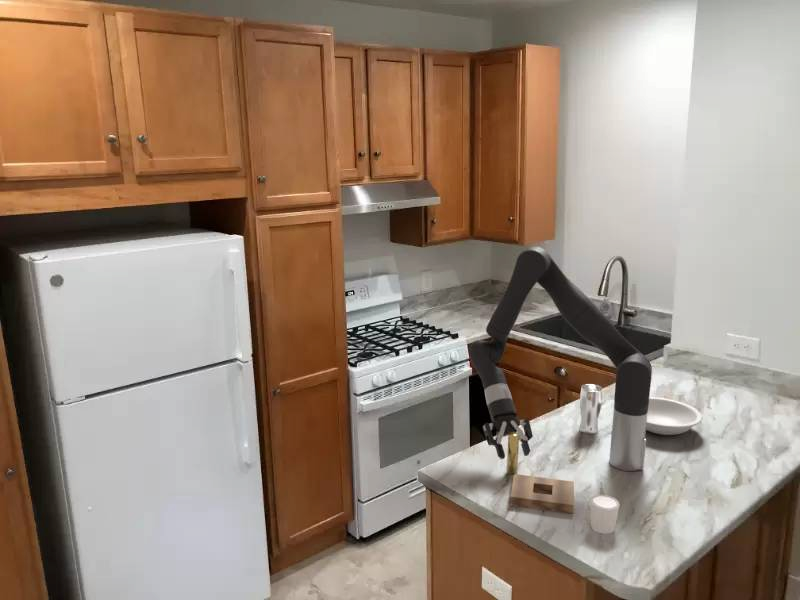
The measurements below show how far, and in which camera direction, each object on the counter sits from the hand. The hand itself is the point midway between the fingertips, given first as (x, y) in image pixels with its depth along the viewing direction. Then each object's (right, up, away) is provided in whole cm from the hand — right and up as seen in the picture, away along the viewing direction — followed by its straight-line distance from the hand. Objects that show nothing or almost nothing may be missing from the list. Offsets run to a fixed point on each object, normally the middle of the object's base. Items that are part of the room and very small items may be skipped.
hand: (515, 456), depth 179 cm
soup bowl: (+54, +1, +31) cm, 62 cm away
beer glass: (+30, +1, +30) cm, 42 cm away
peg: (0, -5, +3) cm, 6 cm away
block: (+5, -9, -10) cm, 14 cm away
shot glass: (+17, -12, -23) cm, 31 cm away
